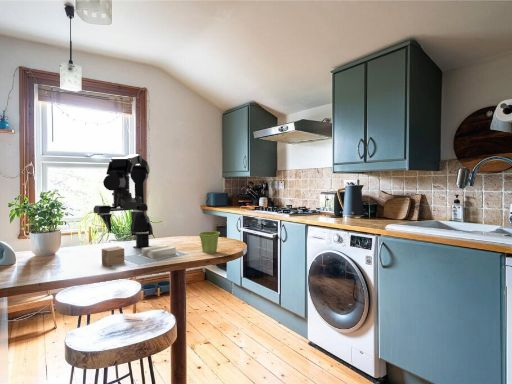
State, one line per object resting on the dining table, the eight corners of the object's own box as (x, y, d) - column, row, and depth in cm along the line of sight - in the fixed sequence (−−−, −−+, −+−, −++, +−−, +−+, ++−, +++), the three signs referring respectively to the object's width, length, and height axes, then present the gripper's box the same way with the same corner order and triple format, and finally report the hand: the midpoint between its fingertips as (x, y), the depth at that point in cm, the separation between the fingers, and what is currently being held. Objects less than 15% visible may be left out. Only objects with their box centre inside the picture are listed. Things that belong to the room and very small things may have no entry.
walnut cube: (101, 264, 118) (101, 248, 118) (117, 261, 123) (117, 246, 123) (108, 267, 114) (108, 251, 114) (124, 264, 119) (124, 248, 118)
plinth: (141, 255, 130) (141, 248, 130) (163, 251, 137) (163, 244, 137) (153, 259, 123) (153, 251, 123) (175, 254, 131) (175, 247, 130)
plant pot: (206, 256, 131) (205, 235, 131) (194, 252, 138) (194, 232, 138) (224, 252, 137) (224, 233, 137) (212, 249, 144) (212, 230, 144)
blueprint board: (119, 258, 127) (118, 257, 126) (166, 250, 143) (166, 248, 143) (138, 266, 115) (138, 264, 115) (188, 255, 131) (188, 254, 131)
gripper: (105, 190, 107) (106, 235, 107) (154, 189, 121) (155, 229, 121) (92, 190, 114) (93, 232, 114) (140, 189, 128) (140, 227, 128)
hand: (122, 230), depth 119 cm, fingers open, 9 cm apart
